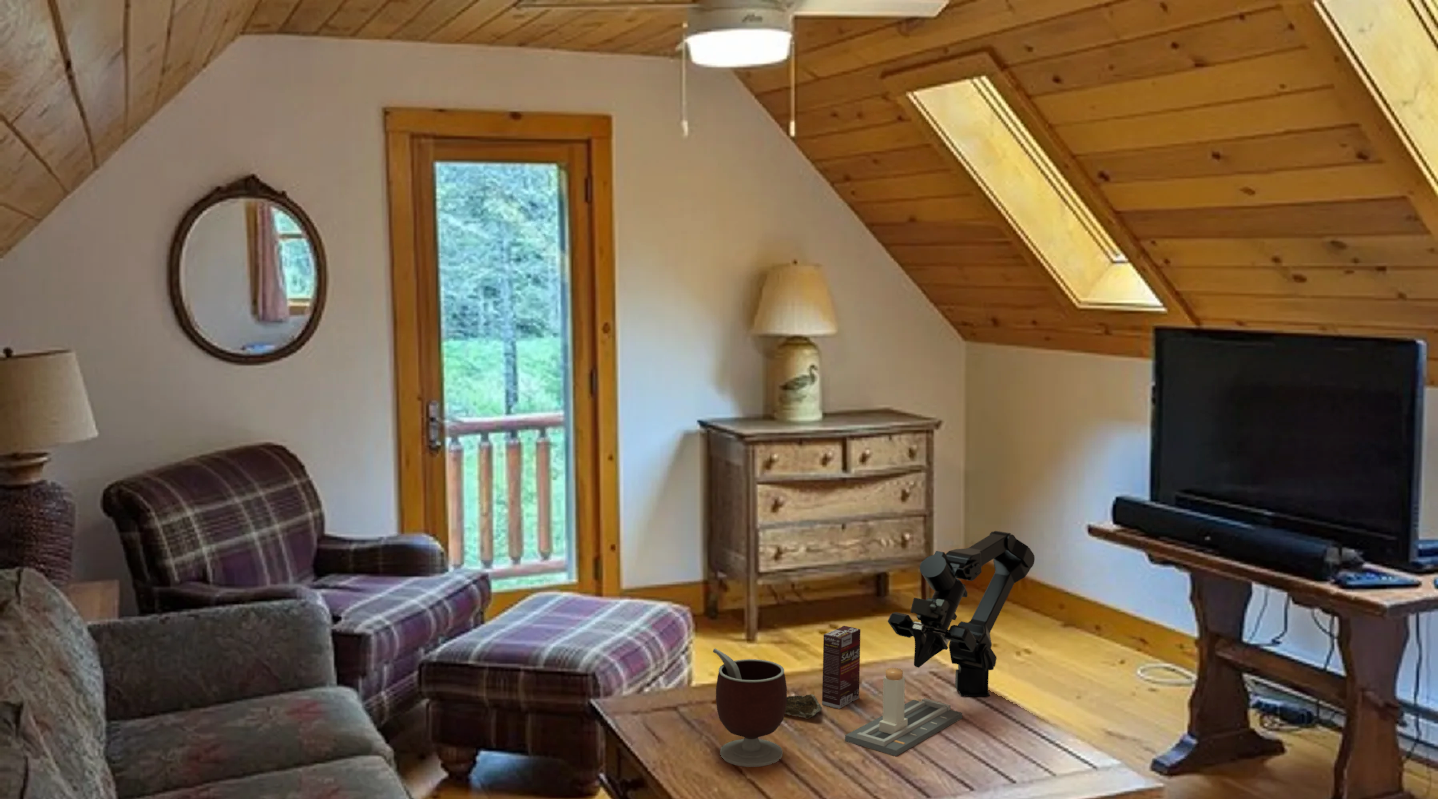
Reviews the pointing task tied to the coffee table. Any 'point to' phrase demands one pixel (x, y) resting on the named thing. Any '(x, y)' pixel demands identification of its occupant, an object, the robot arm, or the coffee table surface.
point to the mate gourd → (750, 708)
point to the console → (921, 726)
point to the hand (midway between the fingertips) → (916, 666)
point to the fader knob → (893, 702)
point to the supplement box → (841, 667)
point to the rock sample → (802, 706)
